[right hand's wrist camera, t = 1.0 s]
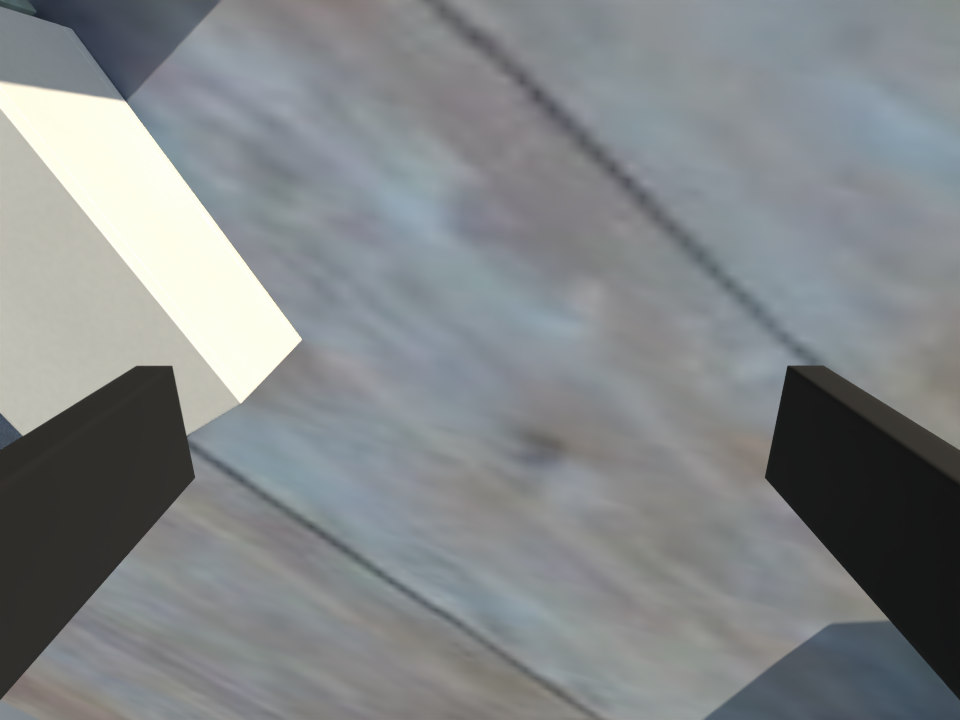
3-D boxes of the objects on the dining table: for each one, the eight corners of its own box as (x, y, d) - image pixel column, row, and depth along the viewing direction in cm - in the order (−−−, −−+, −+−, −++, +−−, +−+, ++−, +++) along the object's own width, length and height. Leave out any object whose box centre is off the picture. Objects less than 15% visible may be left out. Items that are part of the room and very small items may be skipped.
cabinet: (-62, 134, 33) (-283, 126, 23) (71, 27, 31) (-110, -29, 22) (179, 414, 39) (82, 498, 30) (302, 339, 37) (241, 403, 28)
